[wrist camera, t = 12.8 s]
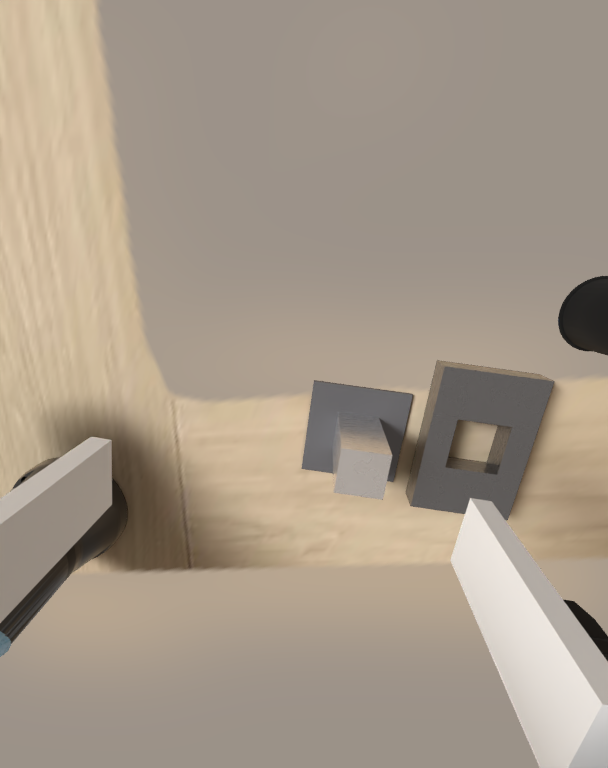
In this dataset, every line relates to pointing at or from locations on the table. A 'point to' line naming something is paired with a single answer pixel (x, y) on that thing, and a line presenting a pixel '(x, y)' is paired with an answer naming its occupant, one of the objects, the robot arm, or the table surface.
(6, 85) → the table surface
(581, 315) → the aerosol can
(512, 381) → the square hole plate
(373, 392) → the rubber pad
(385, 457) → the rectangular peg block
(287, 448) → the table surface
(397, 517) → the table surface
